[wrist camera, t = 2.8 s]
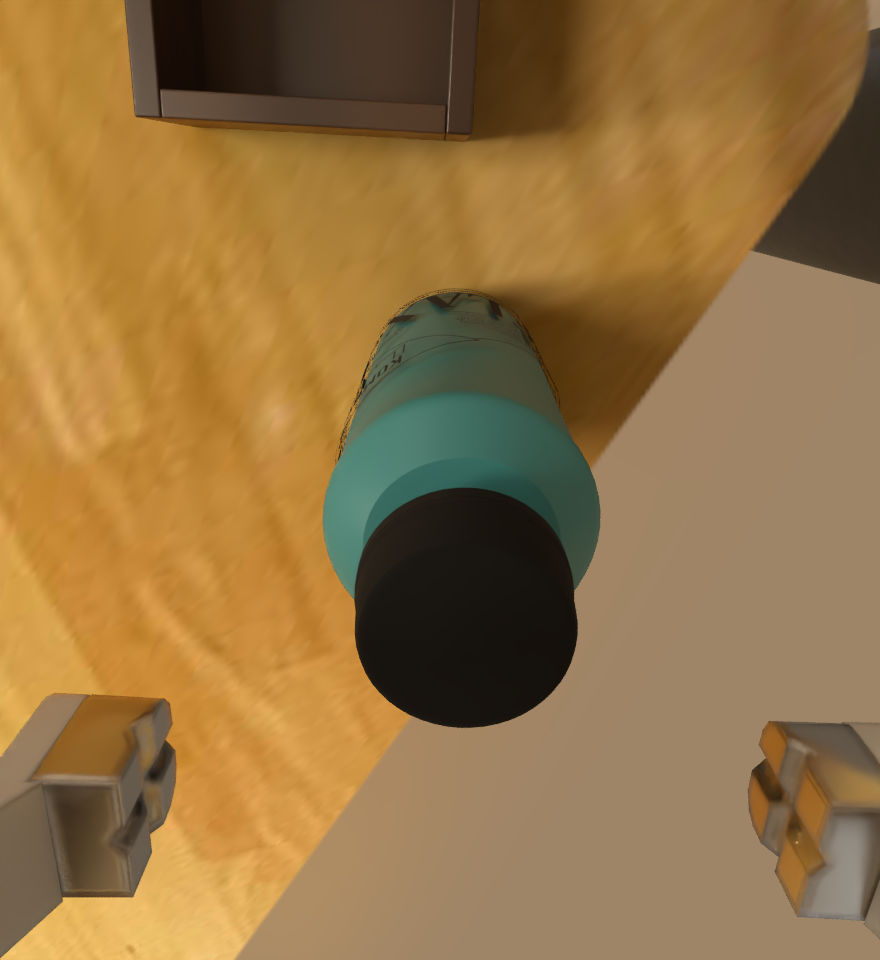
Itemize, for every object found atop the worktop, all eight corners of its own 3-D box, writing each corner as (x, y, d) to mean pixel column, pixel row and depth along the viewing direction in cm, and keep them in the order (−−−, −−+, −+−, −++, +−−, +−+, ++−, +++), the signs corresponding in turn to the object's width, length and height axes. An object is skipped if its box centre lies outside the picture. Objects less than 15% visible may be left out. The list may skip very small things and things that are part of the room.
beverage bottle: (552, 303, 30) (728, 512, 12) (505, 455, 33) (591, 826, 14) (392, 261, 30) (315, 413, 11) (357, 419, 32) (245, 757, 14)
